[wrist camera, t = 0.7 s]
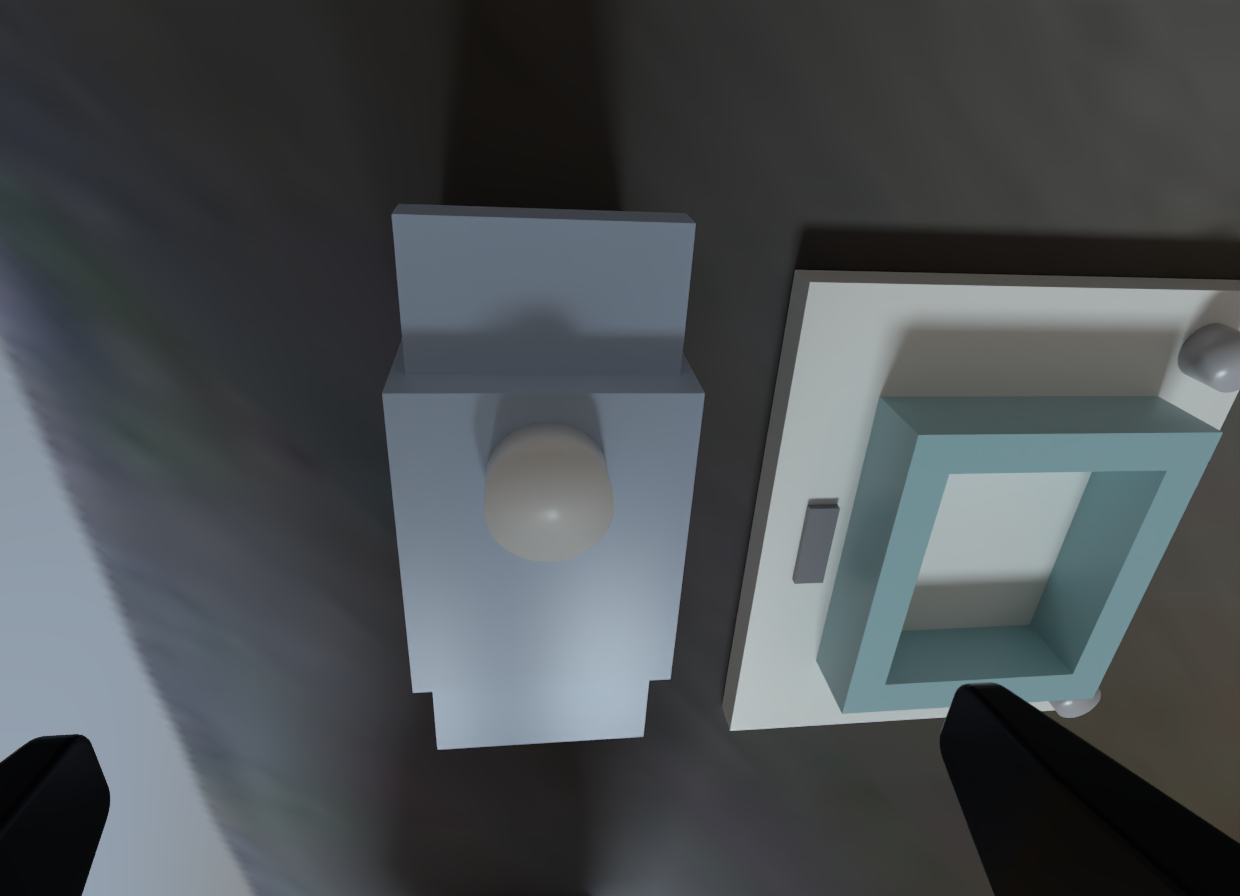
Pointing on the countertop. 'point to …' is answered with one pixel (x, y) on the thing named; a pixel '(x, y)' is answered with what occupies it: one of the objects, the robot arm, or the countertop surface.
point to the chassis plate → (970, 486)
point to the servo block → (541, 464)
